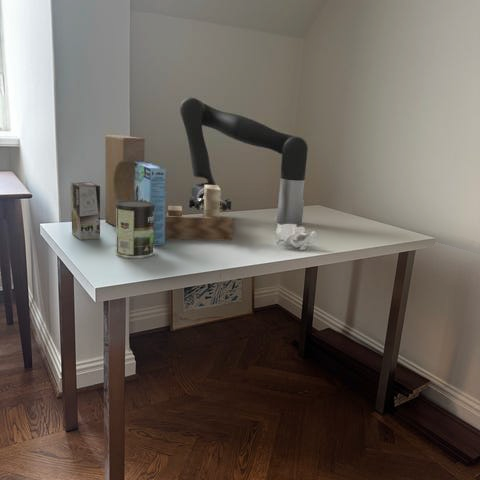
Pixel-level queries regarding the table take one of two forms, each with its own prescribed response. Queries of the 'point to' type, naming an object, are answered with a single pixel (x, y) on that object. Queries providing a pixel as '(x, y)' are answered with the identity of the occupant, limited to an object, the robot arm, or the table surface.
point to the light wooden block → (211, 201)
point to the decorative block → (121, 170)
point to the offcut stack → (174, 211)
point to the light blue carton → (152, 194)
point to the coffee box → (85, 210)
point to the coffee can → (134, 228)
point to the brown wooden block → (198, 228)
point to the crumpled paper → (294, 235)
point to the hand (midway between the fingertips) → (211, 207)
